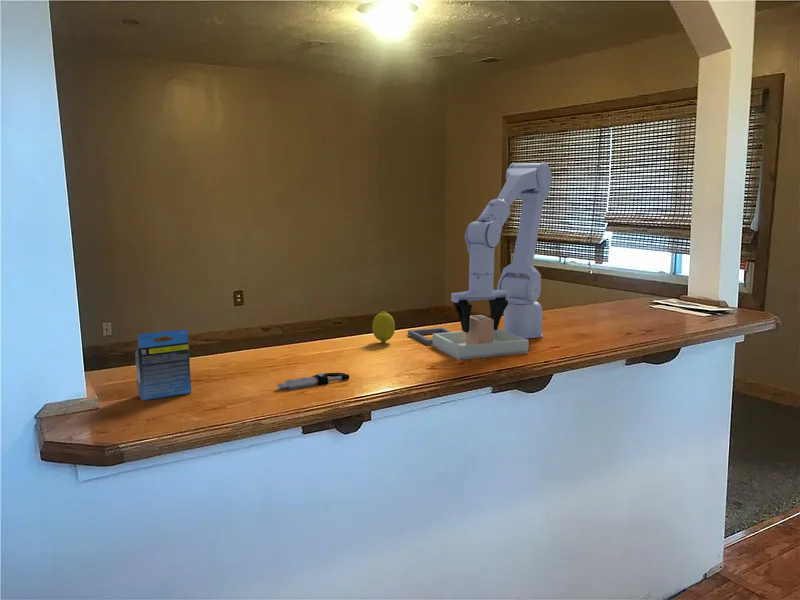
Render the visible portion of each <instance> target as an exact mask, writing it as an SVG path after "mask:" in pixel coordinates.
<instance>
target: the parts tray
mask: <svg viewBox="0 0 800 600" xmlns="http://www.w3.org/2000/svg"><path fill="white" fill-rule="evenodd" d="M432 339H433V345H432V347H433V348H436V349H438V350H439V351H442V352H443V353H445V354H447V355H449V356H450V357H453V358H454V359H456V360H458V361H459V360H460V361H463V360H470V359H471V360H473V359H480V358H482V359H483V358H491V357H501V356H509V355H510V356H511V355H519V354H520V355H521V354H522V355H523V354H528V353H529V339H528V338H526V339H524V338H521V337H519V336H516V335H514V334H511V333H509V332H506V331H504V330H503V329H501V328H499V327H498V329H497V330H493V343H484V344H473V345H466V332H463V331H462V330H461V331H452V332H447V333H436V334H432Z"/></svg>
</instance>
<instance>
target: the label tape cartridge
mask: <svg viewBox="0 0 800 600" xmlns="http://www.w3.org/2000/svg"><path fill="white" fill-rule="evenodd" d="M188 333H189V331H188V328H185V329H183V328H182V329H176V330H175V329H174V330H163V331H154V332H147V333H146V332H145V333H143V332H142V333H137V349H136V350H135V352H134V357H135V358H134V359H135V360H134V361H135V370H136V371H135V372H136V385H137V388H136V389H137V396H138V397H139V400H141V401H142V402H143V401H150V400H155V399H161V398H168V397H172V396H173V397H175V396H180V395H189V394H192V384H191V383H192V380H191V379H192V377H191V375H192V374H191V364H190V360H191V359H190V346H189V336H188ZM162 337H165V338H171V339H169V340H167V339H165V340H160V341H155V340H156V339H161V338H162Z"/></svg>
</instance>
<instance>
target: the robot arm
mask: <svg viewBox="0 0 800 600" xmlns="http://www.w3.org/2000/svg"><path fill="white" fill-rule="evenodd" d="M505 172H506V173H505V180H506V181H505V182H504V185H503V187H502V189H501V191H500V193H499V194H498V196H497V198H493V199H491V200H490V201H489V202H488V204H487V205H486V207H485V208H484V209H483V211H482V212H481V214H480V215H479V216H478V218H477V219H476V221H475V220H474V221H472V222H470V223H469V224H468V225H467V226H466V229H465V233H464V240H465V244H466V248H467V254H469V262H468V263H469V264H468V265H469V266H468V270H469V271H468V290H466V291H458V292H451V294H450V295H451V296H450V301H451V302H453V307H454V308H455V310H456V312H457V315H458V318H459V321H460V326H461V331H463V332H466V333H468V332H469V322H470V316H471V311H472V308H473V305H472V304H470V303H469V302H474V301H477V302H478V301H486V300H487V301H488V303H489V309H490V310H489V311H490V318H491V319H494V328H493V330H497V329H498V328H499V325H500V322H501V318H502V316H503V328H502V330H504V331H506V332H509V333H511V334H514V335H516V336H519V337H521V338H524V339H536V338H544V334H543V307H542V305H541V303H540V302H538V299H539V297H540V296H541V292H542V283H541V281H542V274H541V273H540V272H539V271H538V269H536V267H534V265H533V264H534V258H535V252H536V247H537V241H538V237H539V230H540V225H541V218H542V214H543V213H542V211H543V208H544V203H545V200H546V199H548V198H549V194H550V192H551V191H550V190H551V185H552V179H553V177H552V176H553V175H552V171H551V167H550V166H549V164H548V163H547V162H545V161H544V162H531V163H529V162H526V163H525V162H523V163H521V162H520V163H518V162H512V163H511V164H510V165H509V166H508V168H507V169H506V171H505ZM517 198H518V199H519V200H520V201H521V202H522V207H521V213H520V218H519V223H518V230H517V234H516V241H515V247H514V251H513V258H512V262H511V263H509V264H508V265H506V266H505V267H504V268H503V269H502V273H501V275H500V278H499V280H498V282H497V289H494V283H495V282H494V279H495V248H496V246H497V245H498V244H499V242H500V239H501V234H502V231H503V227H504V224H505V223H506V222H507V220H508V218H509V217H510V215H511V208H510V207H511V206H512V205H513V203H514V202H515V201H516V199H517Z"/></svg>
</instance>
